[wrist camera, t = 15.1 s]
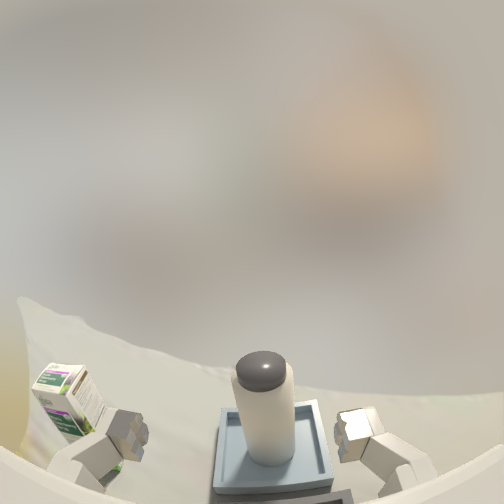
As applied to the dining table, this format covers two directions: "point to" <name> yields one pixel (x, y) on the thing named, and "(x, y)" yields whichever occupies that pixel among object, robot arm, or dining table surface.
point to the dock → (309, 499)
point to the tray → (280, 477)
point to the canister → (266, 406)
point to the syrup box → (70, 400)
